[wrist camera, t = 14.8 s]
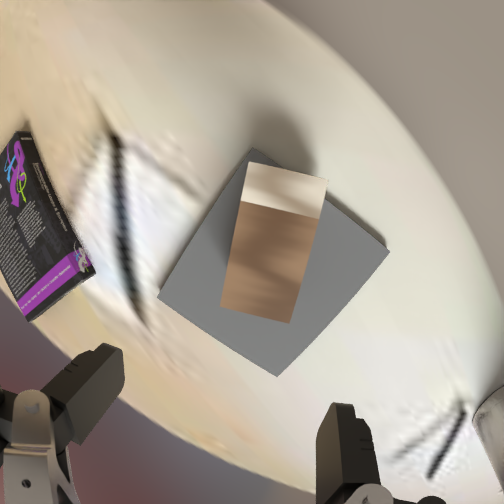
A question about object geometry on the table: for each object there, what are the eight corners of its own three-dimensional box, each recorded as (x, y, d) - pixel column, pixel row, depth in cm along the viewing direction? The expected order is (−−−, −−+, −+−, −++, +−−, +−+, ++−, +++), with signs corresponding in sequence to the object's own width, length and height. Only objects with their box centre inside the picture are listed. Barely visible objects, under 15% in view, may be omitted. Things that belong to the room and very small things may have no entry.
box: (101, 271, 29) (34, 129, 26) (83, 282, 26) (13, 128, 22) (44, 312, 33) (-13, 194, 29) (28, 324, 29) (-30, 198, 26)
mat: (386, 248, 24) (390, 251, 23) (277, 371, 29) (277, 377, 28) (254, 148, 23) (252, 147, 22) (160, 293, 28) (156, 297, 27)
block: (290, 295, 25) (320, 178, 22) (289, 323, 20) (328, 180, 17) (233, 281, 25) (258, 163, 23) (219, 306, 21) (248, 161, 18)
